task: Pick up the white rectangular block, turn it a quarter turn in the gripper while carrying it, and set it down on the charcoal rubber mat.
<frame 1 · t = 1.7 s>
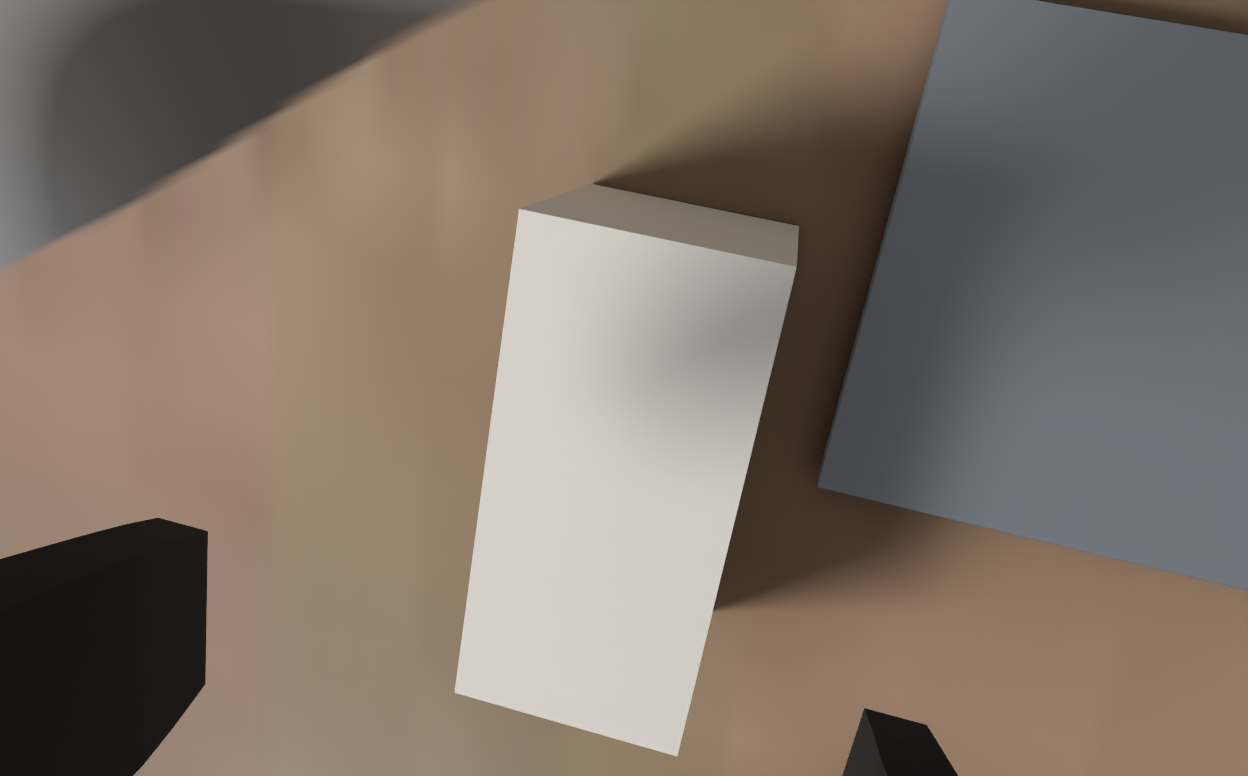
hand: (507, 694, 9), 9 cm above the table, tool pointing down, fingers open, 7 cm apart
mat: (1225, 328, 15), on the table
white rectangular block: (652, 412, 18), on the table
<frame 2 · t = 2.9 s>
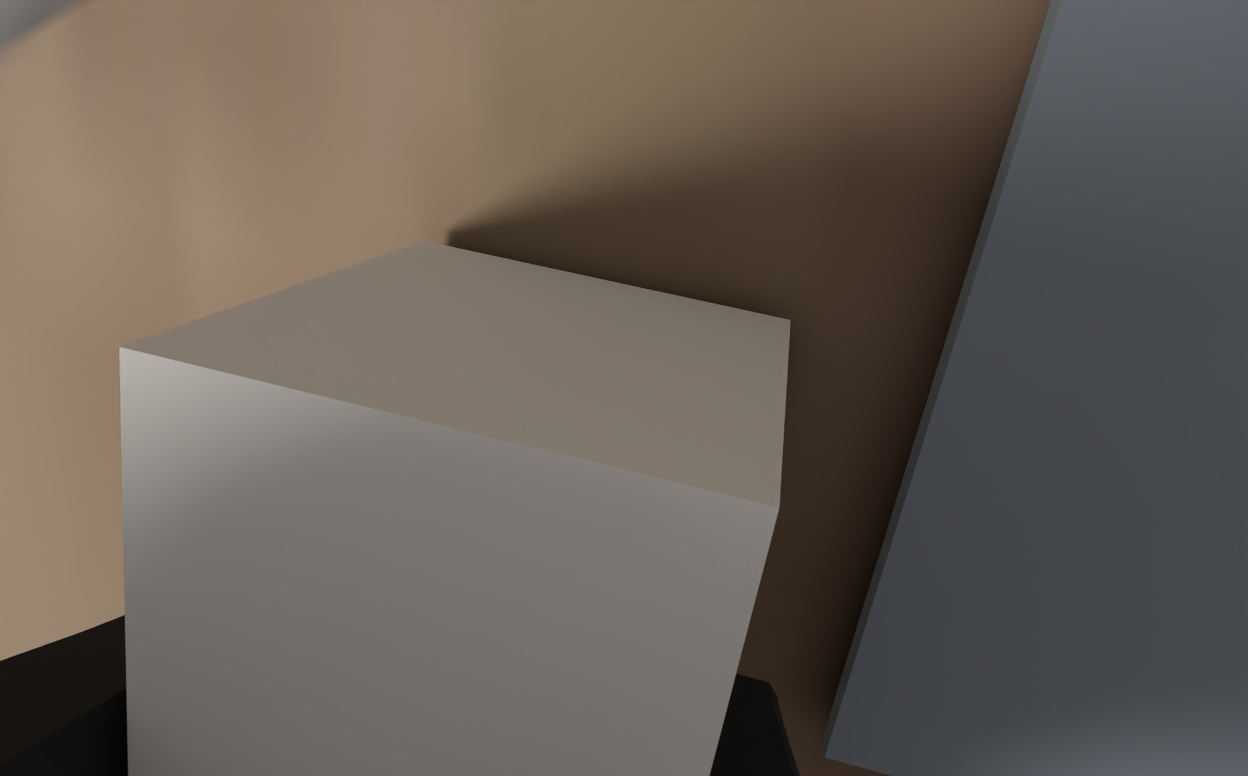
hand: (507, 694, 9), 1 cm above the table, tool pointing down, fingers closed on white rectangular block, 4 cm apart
white rectangular block: (544, 619, 11), on the table, touching gripper
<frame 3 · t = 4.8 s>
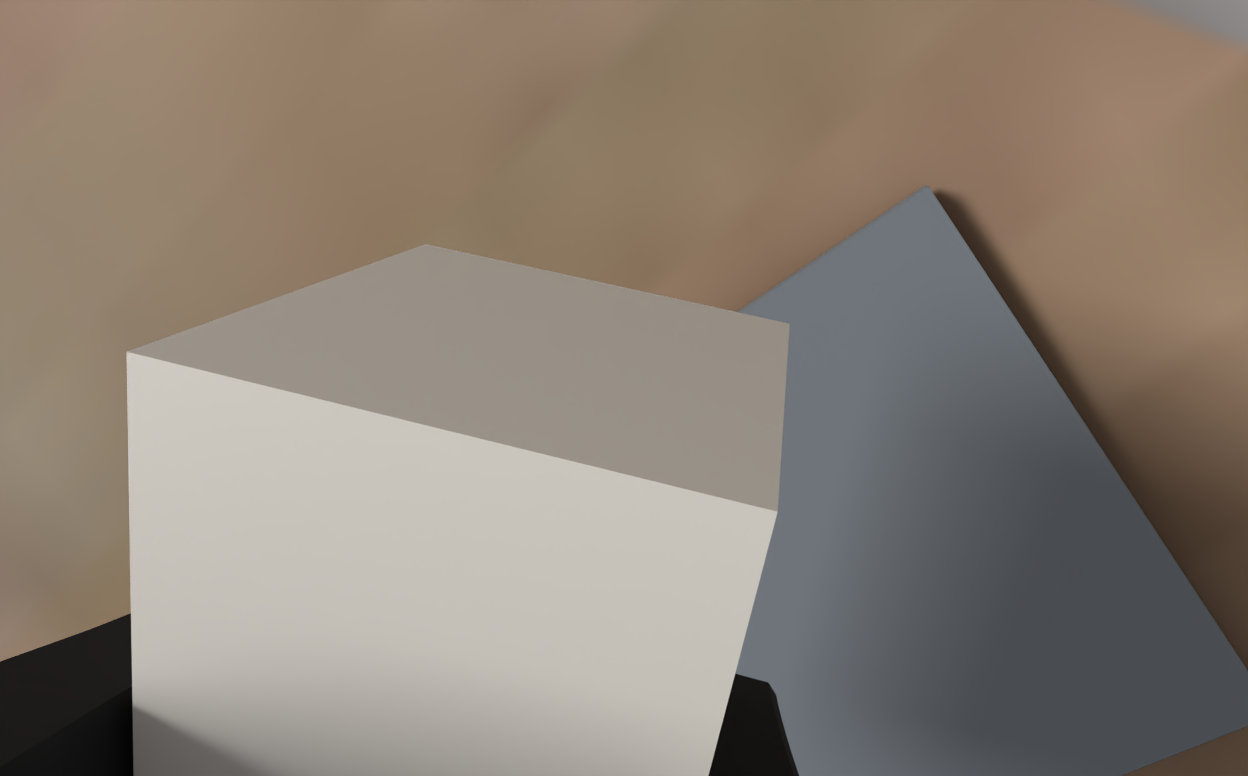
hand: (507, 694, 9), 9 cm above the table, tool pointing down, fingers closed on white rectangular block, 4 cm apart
mat: (887, 569, 18), on the table
white rectangular block: (545, 619, 11), point 7 cm above the table, touching gripper
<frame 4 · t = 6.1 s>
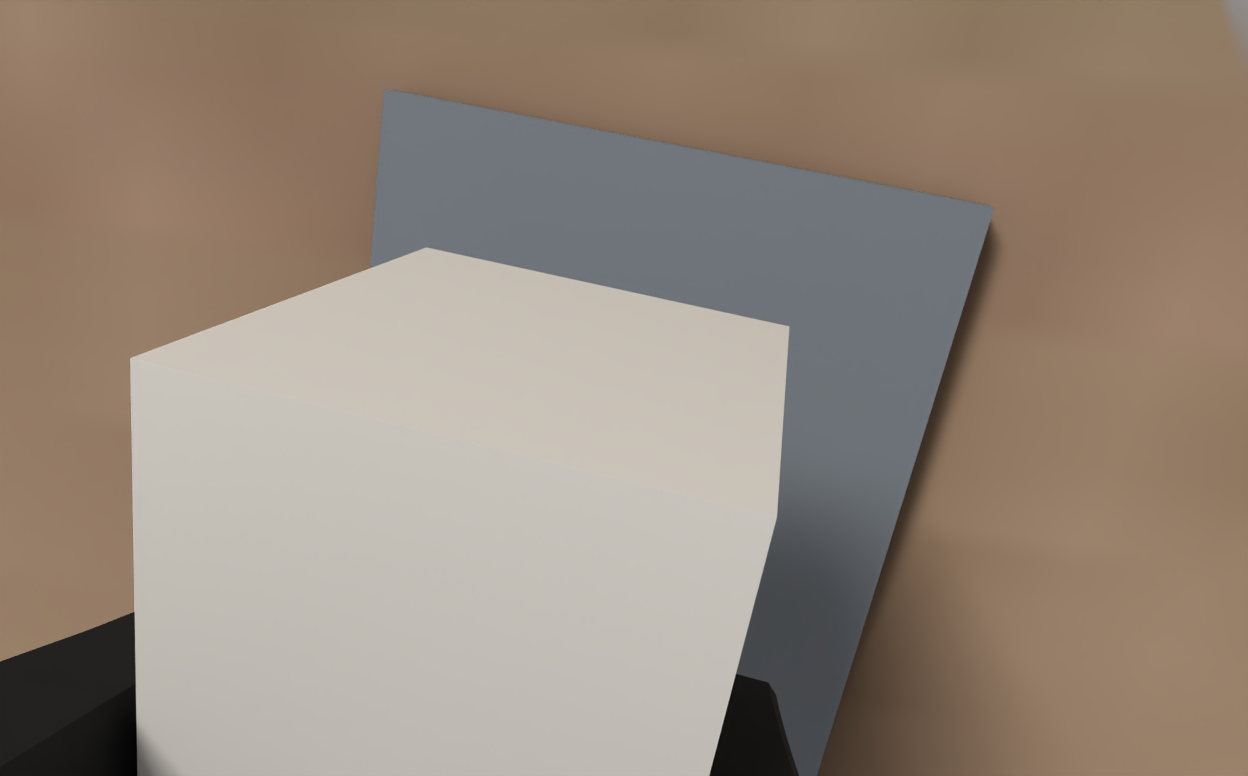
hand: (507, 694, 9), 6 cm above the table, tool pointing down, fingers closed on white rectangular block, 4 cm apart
mat: (611, 503, 15), on the table
white rectangular block: (546, 621, 11), point 4 cm above the table, touching gripper
when the fingers open (3 cm above the table, at t = 7.0 s): white rectangular block drops 1 cm, resting on mat.
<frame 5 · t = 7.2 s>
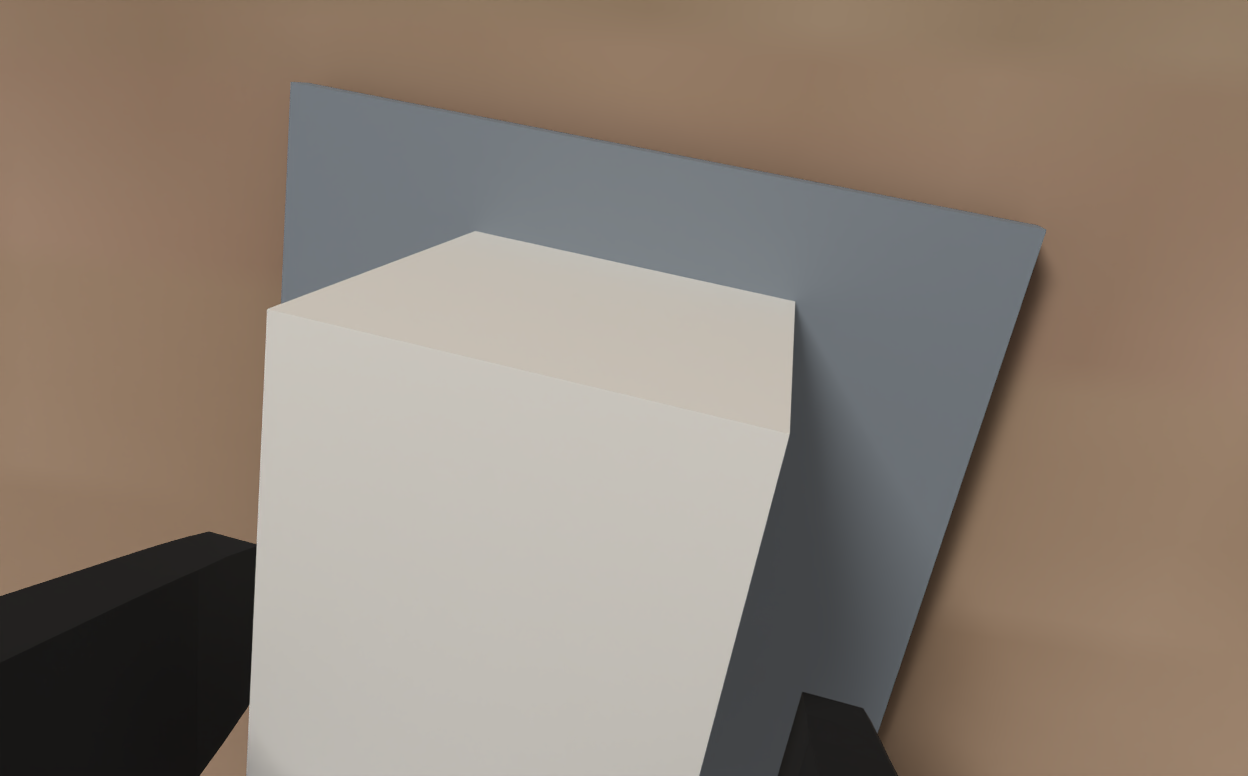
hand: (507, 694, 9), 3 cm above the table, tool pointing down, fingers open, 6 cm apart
mat: (576, 577, 13), on the table
white rectangular block: (575, 567, 12), resting on mat
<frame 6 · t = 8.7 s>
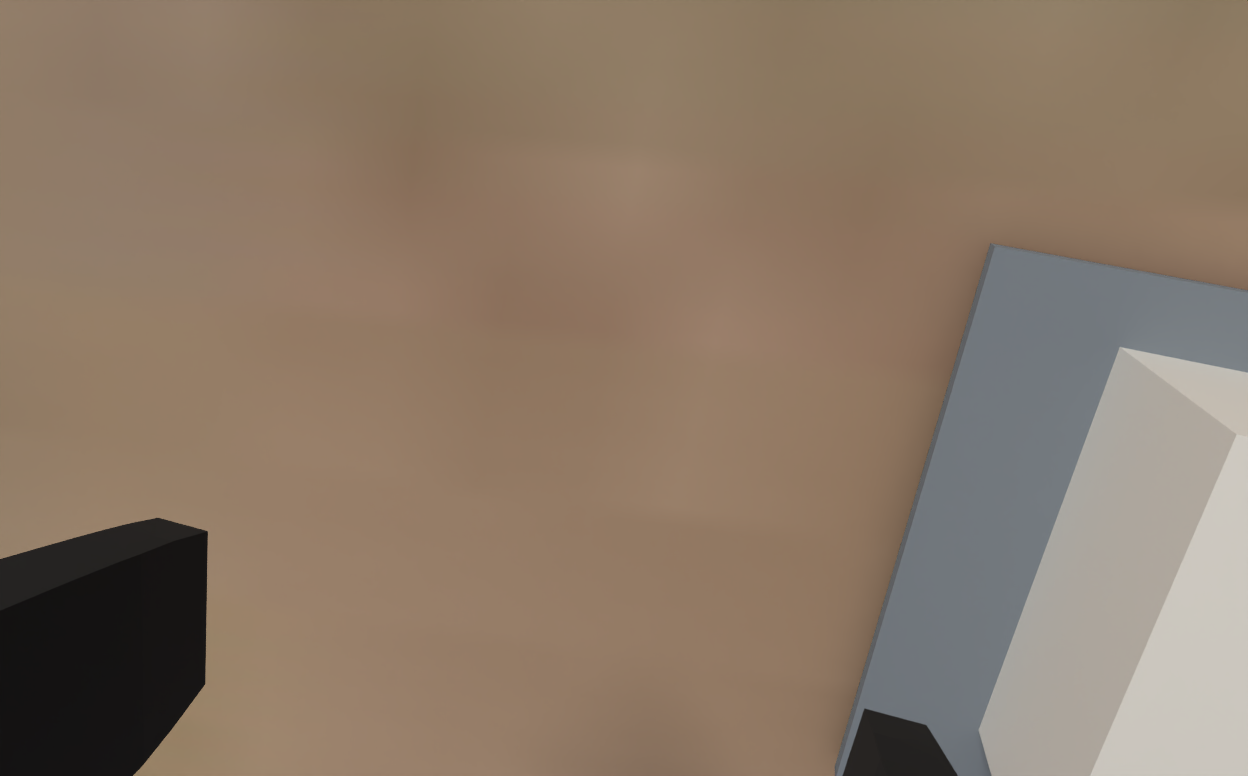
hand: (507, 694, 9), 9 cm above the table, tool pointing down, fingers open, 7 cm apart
mat: (1135, 586, 17), on the table
white rectangular block: (1151, 579, 17), resting on mat
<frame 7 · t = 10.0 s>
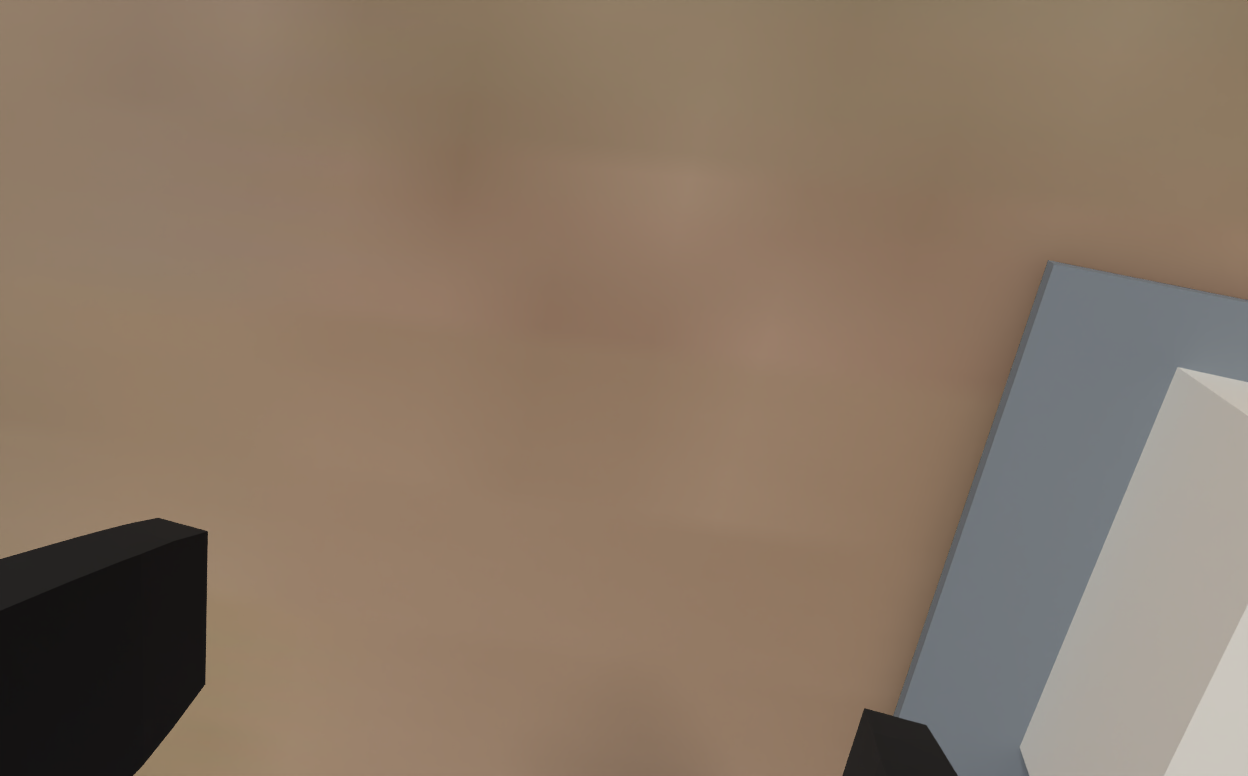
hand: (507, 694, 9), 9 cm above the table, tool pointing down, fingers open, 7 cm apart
mat: (1182, 606, 17), on the table
white rectangular block: (1200, 599, 17), resting on mat
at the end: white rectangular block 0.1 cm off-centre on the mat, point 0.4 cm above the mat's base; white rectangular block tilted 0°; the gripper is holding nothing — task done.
